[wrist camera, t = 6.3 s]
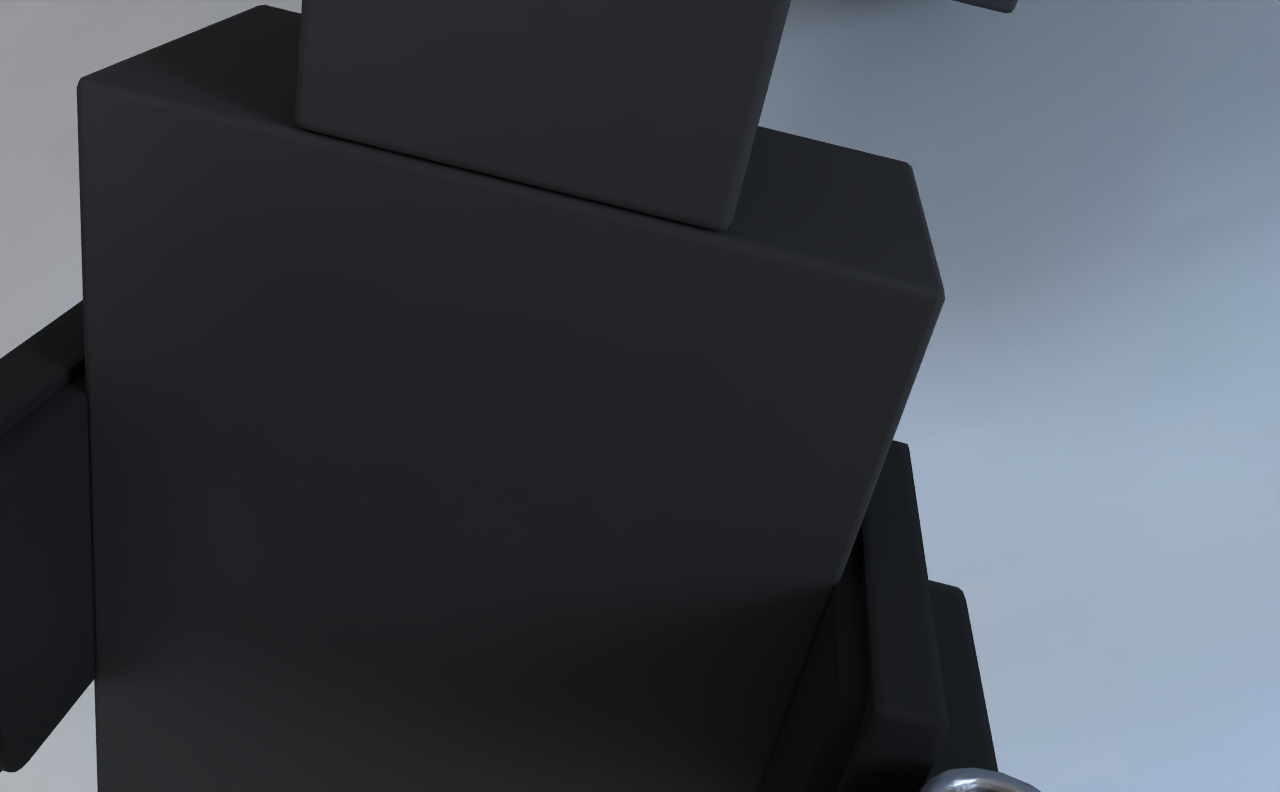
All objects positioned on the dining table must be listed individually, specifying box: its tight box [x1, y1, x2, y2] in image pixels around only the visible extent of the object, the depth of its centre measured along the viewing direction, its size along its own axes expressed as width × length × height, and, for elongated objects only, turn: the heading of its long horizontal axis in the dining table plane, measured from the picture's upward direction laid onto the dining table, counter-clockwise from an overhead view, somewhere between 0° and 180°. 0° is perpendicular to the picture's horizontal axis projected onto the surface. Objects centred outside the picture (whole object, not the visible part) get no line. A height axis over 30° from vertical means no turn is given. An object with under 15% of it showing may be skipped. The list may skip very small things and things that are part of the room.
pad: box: [77, 0, 945, 792], centre depth 10 cm, size 11×6×3 cm, turn 168°
